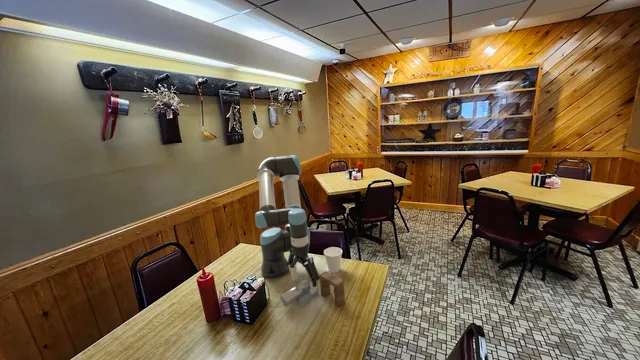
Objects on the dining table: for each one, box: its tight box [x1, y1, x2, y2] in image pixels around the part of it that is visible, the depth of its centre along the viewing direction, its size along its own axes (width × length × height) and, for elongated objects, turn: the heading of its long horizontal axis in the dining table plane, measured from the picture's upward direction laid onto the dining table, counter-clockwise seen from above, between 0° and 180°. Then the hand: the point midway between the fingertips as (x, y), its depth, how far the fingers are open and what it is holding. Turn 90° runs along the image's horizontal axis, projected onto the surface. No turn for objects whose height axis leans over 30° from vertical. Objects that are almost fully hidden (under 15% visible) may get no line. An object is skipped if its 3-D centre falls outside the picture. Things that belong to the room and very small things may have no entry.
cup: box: [323, 246, 343, 274], centre depth 135 cm, size 10×10×11 cm
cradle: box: [294, 287, 320, 307], centre depth 117 cm, size 8×10×3 cm
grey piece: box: [280, 279, 311, 307], centre depth 113 cm, size 13×5×5 cm, turn 132°
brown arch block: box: [319, 270, 346, 308], centre depth 113 cm, size 11×4×11 cm, turn 44°
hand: (304, 285), depth 117 cm, fingers open, 13 cm apart
